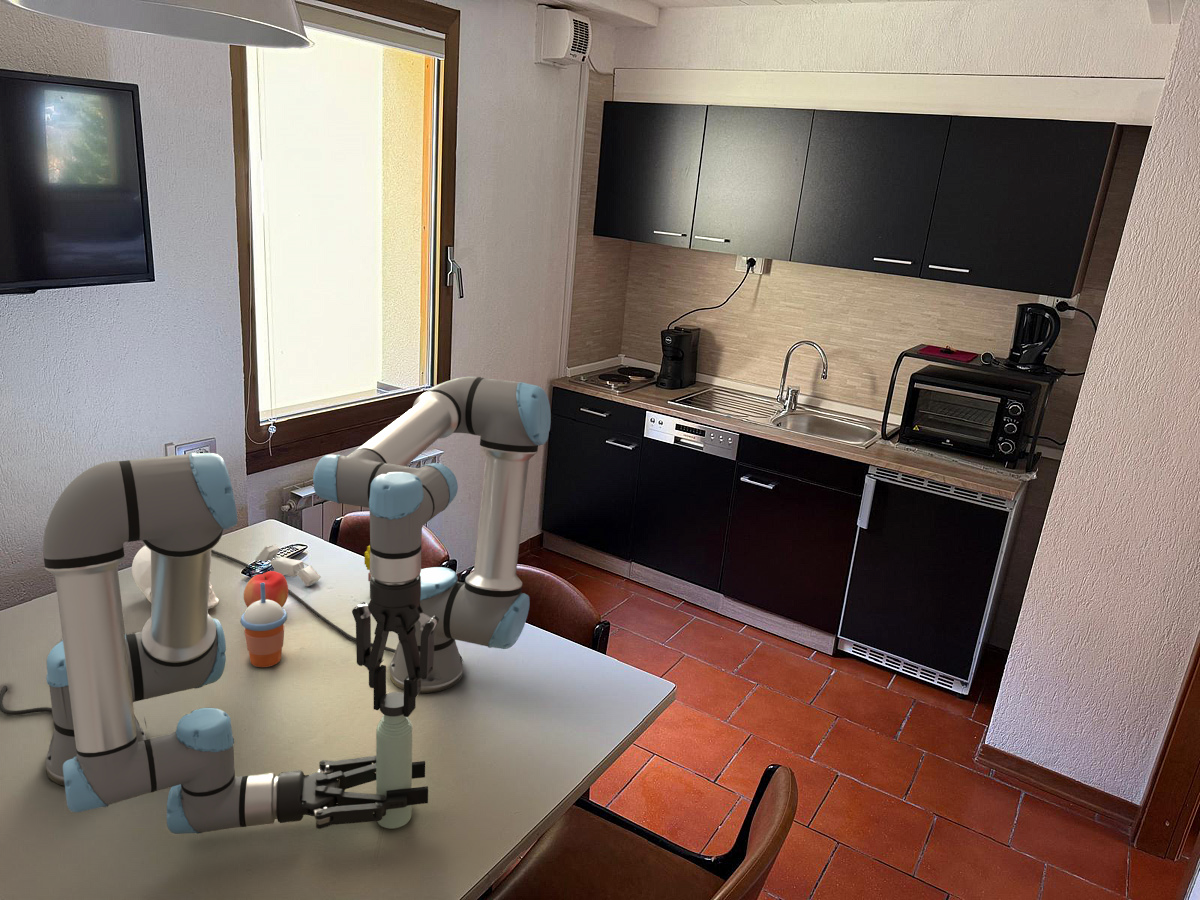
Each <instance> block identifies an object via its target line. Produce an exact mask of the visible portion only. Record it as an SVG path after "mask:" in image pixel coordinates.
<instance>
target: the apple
mask: <svg viewBox="0 0 1200 900" xmlns="http://www.w3.org/2000/svg"><path fill="white" fill-rule="evenodd" d="M260 583H265V599H266V600H272V601H275V602H276V603H278V604H279V605H280V606H281V607H282V608H283V607H284V606H285V605H286V603H287V600H288V597H289V593H288V589H289V584H288V581H287V579H286V577H285V575H282V574H281V573H278V572H275V571H268V570H267V571H266V572H263V574H259V573H257V574H255V575H254V576H253V577H251V578H250V579H249V580H248V582H247V583H246V585H245V587H244V590H243V601H244V604H245V607H247V608H248V607H249V606H250V605H251V604H252V603H254V602H256V601H259V600H261V589H260Z"/></svg>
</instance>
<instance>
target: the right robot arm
mask: <svg viewBox="0 0 1200 900" xmlns="http://www.w3.org/2000/svg"><path fill="white" fill-rule="evenodd" d="M551 419H552V413H551V405H550V400H549V397H548V394H547V392H546V391H545V390H544V389H543V387H541V386H539V385H535V384H531V383H526V382H524V381H513V380H512V381H511V380H504V379H495V378H486V377H481V376H462V377H461V376H460V377H457V378H453V379H450V380H447V381H444V382H441V383H439V384H436V385H434V386H433V387H430V388H429V389H427V390H426V391H424V392H423V393H422V394H420V395H419V396H417V397H416V398H415V400H414V402H413V405H412V408H410V409H408V410H407V411H406V412H405V413H403V414H402V415H400V417H398V418H396V419H395V420H394V421H392V422H391V423H390V424H388V425H387V426H386V427H384V428H383V429H382V430H381V431H379V432H378V433H377V434H375V435H374V436H372V437H371V438H370V439H368V440H367V441H366V442H365V443H363V444H362V445H360V446H359V447H357V448H356V449H355V450H354V451H352V452H351V453H350V454H348V455H345V456H344V455H342V454H325V455H323V456H322V457H321V458H320V459H319V460H318V462H317V464H316V465H315V468H314V470H313V475H312V476H313V477H312V482H313V491H314V492H315V494H316V495H317V497H319V498H320V499H322V500H325V501H330V502H333V503H336V504H338V505H341V504H343V505H350V506H354V507H355V506H356V507H362V508H367V509H369V537H370V538H369V539H370V540H369V541H370V543H369V545H370V570H369V572H370V575H371V577H370V581H369V598H370V600H369V602H368V603H366V602H365V601H361V602H360V603H358V604H357V605H356V606H355V607H354V608H352V609H351V613H352V616H353V619H354V622H355V636H352V635H350V634H349V633H347V632H346V631H345V630H343V629H342V628H340V627H339V626H338V625H336V624H335V623H333V622H332V621H330V620H329V619H327V618H326V617H325V616H323V615H322V614H321V613H319V612H318V611H317V610H315V608H313V607H312V606H311V605H309V604H308V603H307V602H305V601H304V600H303V599H302V598H301V597H299V596H298V595H297V594H295V593H294V592H293V591H291V590H290V589H289V588H288V595H290V596H291V597H292V598H293V599H295V600H296V601H297V602H299V604H301V605H302V606H303V607H305V608H306V609H307V610H308V611H310V612H311V613H312V614H313V615H315V617H317V618H318V619H320V620H321V621H323V622H324V623H325V624H327V625H328V626H329V627H331V628H332V629H334V630H335V631H337V632H338V633H340V634H341V635H342V636H344V637H345V638H347V639H348V640H350V641H353V642H355V652H356V653H355V655H356V664H357V666H359V667H365V668H366V669H367V671H368V687H369V688H371V689H373V710H374V711H380V699H381V698H382V696H383V695H385V694H387V665H385V664H382V663H383V662H384V659H383V658H384V654H385V652H390V653H393V656H392V659H391V660H390V665H389V679H390V681H391V682H392V683H393V684H394V685H395V686H396V687H398V688H399V689H401V690H403V693H404V716H405V717H408V718H409V717H410V716H411V714H412V713H413V712H414V711H415V709H416V706H417V697H418V695H419V694H430V693H431V694H432V693H438V692H441V691H445V690H447V689H450V688H451V687H453V686H455V685H456V684H457V683H458V682H459V681H460V680H461V679H462V676H463V672H464V663H463V662H464V659H463V657H462V655H461V653H460V652H459V649H458V646H457V642H456V641H459V642H465V643H469V644H474V645H479V646H484V647H487V648H489V649H492V648H495V649H501V650H507V649H510V648H512V647H513V646H514V645H515V644H516V643H517V641H518V640H519V638H520V636H521V634H522V632H523V630H524V628H525V624H526V623H527V622H526V621H527V619H528V615H529V611H530V606H531V605H530V603H531V602H530V599H531V598H530V596H529V595H528V594H526V593H525V592H522V589H523V581H522V580H521V579H520V577H518V575H517V569H518V567H517V566H518V560H519V549H520V543H521V542H520V541H521V535H522V534H521V532H522V524H523V515H524V507H525V506H524V505H525V498H526V489H527V480H528V472H529V463H530V460H531V458H533V457H535V455H537V454H538V452H539V451H538V450H539V446H543V445H545V444H546V443H547V442H548V440H549V435H550V434H549V432H550V431H551V423H552V420H551ZM452 434H466V435H472V436H479V438H480V440H479V447H480V449H481V450H482V451H483V453H484V454H485V464H484V473H483V474H484V475H483V481H482V491H481V492H482V493H481V501H480V510H479V519H478V528H477V536H476V537H477V539H476V547H475V557H474V566H473V570H472V572H470V573H469V574H468V575H467V576H465V580H464V582H463V581H458V580H459V577H458V575H457V572H456V571H454V570H453V569H451V568H448V567H442V566H433V567H426V568H422V540H423V539H422V538H423V537H422V536H423V526H424V525H426V524H427V523H428V522H430V521H431V520H432V519H434V518H435V517H436V516H438V515H439V514H440V513H441V512H443V511H445V510H446V509H447V508H448V507H449V505H450V504H451V503H452V502H453V501H454V500H455V498H456V496H457V494H458V489H459V485H458V479H457V477H456V475H455V474H454V472H453V471H452V470H451V468H449V467H448V466H447V465H445V464H442V463H439V462H431V463H427V464H424V465H421V466H419V467H412V466H408V465H409V464H410V463H411V462H413V461H414V460H415V459H416V458H417V457H419V456H420V455H421V454H423V453H424V452H425V450H427V449H428V448H429V447H431V445H433V444H434V443H435V442H436V441H437V440H439V439H445V438H447V437H450V436H451V435H452ZM211 554H214V555H216V556H219V557H222V558H225V559H227V560H229V561H232V562H234V563H237V564H239V565H241V566H243V567H245V568H247V566H248V565H249V564H248V563H247V562H244V561H241V560H239V559H237V558H235V557H232V556H230V555H227V554H225V553H222V552H219V551H217V550H214V549H212V550H211ZM371 616H372V618H373V619H374V620H375V622H376V625H375V629H374V633H373V634H374V638H373V641H372V622H371ZM390 632H391V633H395V634H397V638H398V643H397V645H396V648H392V647H388V646H387V642H388V638H389V634H390Z"/></svg>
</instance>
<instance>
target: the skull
mask: <svg viewBox="0 0 1200 900" xmlns="http://www.w3.org/2000/svg"><path fill="white" fill-rule="evenodd" d="M131 574H132V579H133V581H134V583H135V585H136V586H137V588H138V589H139V590H140V591H141V593H142V594H143V596H144V597H145V598H146V599H147V601H149V602H150V603H151V550H150V549H148V548H147V547H146V546H145V545H143V546H142V547H141V548H140V549H139V550H138V551H137V553H136V554H135V556H134V557H133V560H132V564H131ZM211 574H212V567H210V575H211ZM213 588H214V586H213V585H212V583H211V582H210V584H209V601H208V610H209V609H211V608H214V607H216V606H218V604H219V603H220V601H219V600H220V599H219V598H218V597H217V596H216V593H215V591H214V590H213Z"/></svg>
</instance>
